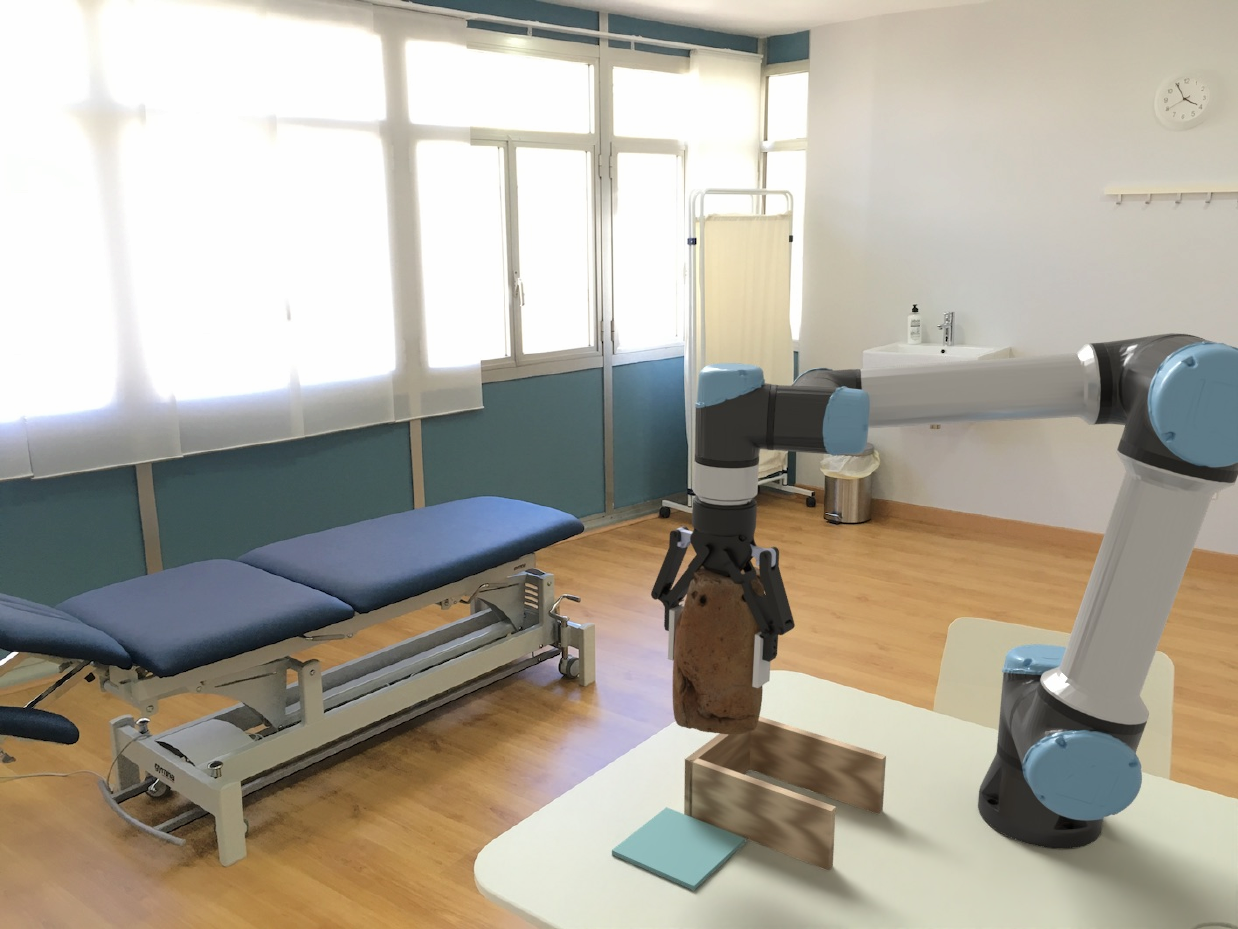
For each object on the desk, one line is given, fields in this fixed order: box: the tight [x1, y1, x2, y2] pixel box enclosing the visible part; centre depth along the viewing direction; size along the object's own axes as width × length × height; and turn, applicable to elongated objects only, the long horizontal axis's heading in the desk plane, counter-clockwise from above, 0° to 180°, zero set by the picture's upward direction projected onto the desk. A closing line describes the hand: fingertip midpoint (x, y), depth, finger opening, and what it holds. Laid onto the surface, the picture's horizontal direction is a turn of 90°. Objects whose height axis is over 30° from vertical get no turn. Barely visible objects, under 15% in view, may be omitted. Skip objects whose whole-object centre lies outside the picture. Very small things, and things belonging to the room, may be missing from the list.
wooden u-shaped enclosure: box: [683, 715, 887, 872], centre depth 136 cm, size 21×16×8 cm
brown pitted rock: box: [672, 566, 765, 735], centre depth 125 cm, size 11×8×20 cm
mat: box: [611, 807, 746, 891], centre depth 129 cm, size 12×12×1 cm
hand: (717, 669), depth 126 cm, fingers closed on brown pitted rock, 11 cm apart
